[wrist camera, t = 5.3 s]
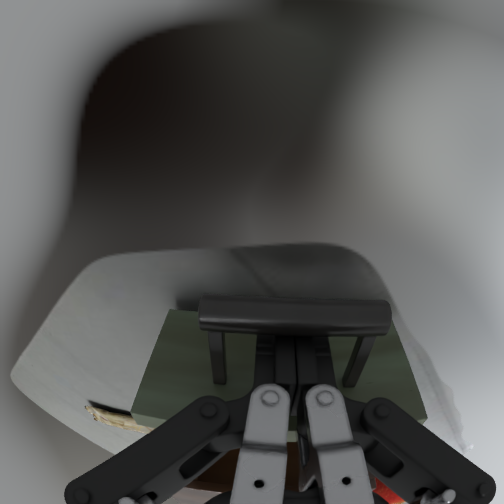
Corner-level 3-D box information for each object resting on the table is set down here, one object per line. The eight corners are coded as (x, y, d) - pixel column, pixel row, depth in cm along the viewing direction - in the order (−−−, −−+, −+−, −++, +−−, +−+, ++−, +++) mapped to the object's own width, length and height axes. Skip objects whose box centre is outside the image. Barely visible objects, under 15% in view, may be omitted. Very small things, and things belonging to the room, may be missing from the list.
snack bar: (164, 423, 26) (167, 442, 26) (167, 415, 27) (170, 434, 27) (83, 405, 26) (89, 424, 26) (89, 398, 27) (95, 417, 28)
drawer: (157, 234, 15) (91, 335, 8) (415, 247, 14) (481, 346, 8) (193, 413, 23) (178, 485, 17) (344, 419, 23) (352, 490, 17)
